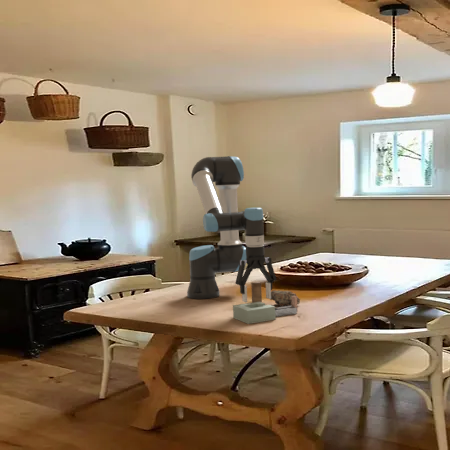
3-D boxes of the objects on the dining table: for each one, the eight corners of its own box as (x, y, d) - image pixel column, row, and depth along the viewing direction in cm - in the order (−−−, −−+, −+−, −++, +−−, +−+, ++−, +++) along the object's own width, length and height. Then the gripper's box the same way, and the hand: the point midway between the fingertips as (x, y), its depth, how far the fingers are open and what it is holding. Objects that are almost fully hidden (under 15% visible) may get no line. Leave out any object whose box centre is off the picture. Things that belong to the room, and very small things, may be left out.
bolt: (275, 313, 244) (274, 298, 244) (294, 310, 248) (293, 295, 247) (278, 314, 242) (277, 299, 242) (297, 311, 246) (296, 296, 246)
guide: (264, 315, 243) (264, 309, 243) (290, 311, 249) (289, 305, 248) (270, 317, 239) (270, 311, 239) (296, 313, 244) (296, 307, 244)
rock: (266, 290, 264) (275, 291, 254) (290, 288, 268) (300, 288, 258) (267, 307, 263) (277, 308, 254) (292, 304, 267) (302, 305, 258)
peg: (250, 311, 251) (249, 282, 250) (259, 310, 253) (258, 281, 252) (255, 313, 248) (254, 283, 247) (263, 312, 250) (262, 282, 249)
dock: (233, 317, 241) (232, 305, 241) (259, 313, 247) (259, 301, 246) (248, 323, 230) (247, 310, 230) (275, 319, 236) (275, 306, 235)
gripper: (234, 249, 240) (236, 305, 242) (284, 244, 250) (285, 297, 252) (225, 247, 247) (227, 301, 248) (274, 242, 257) (276, 295, 259)
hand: (256, 299), depth 250 cm, fingers open, 10 cm apart
